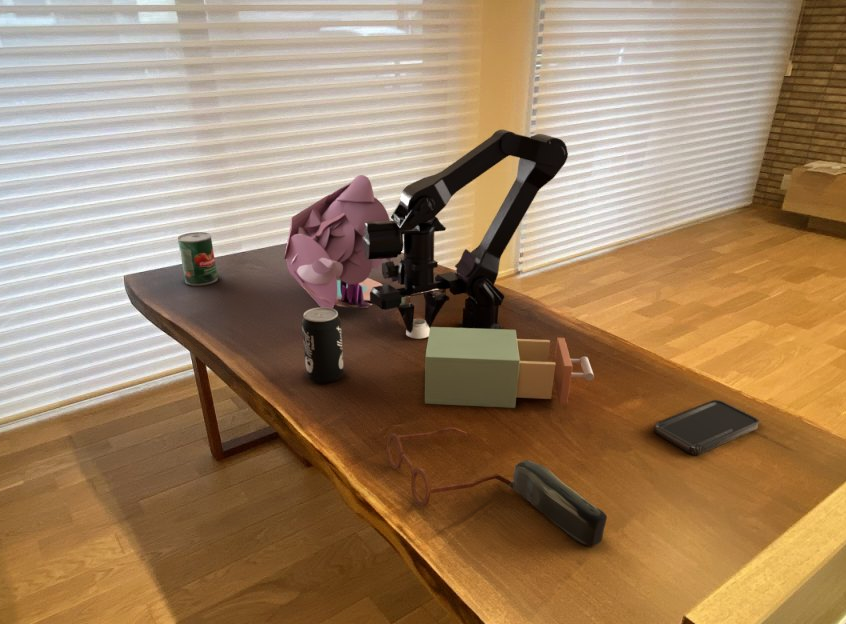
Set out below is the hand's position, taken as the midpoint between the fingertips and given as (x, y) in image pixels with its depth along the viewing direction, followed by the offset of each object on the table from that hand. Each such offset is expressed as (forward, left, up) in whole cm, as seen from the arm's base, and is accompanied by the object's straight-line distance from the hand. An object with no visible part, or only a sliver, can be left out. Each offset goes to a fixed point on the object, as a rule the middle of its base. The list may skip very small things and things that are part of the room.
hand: (418, 330), depth 123 cm
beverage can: (+23, +7, -1) cm, 24 cm away
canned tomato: (+31, -55, -1) cm, 63 cm away
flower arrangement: (+3, -28, -1) cm, 28 cm away
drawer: (-6, +29, 0) cm, 30 cm away
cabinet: (+3, +23, -1) cm, 23 cm away
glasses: (+19, +41, -1) cm, 45 cm away
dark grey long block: (+12, +54, -1) cm, 55 cm away
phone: (-21, +51, -1) cm, 55 cm away
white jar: (0, 0, -1) cm, 1 cm away
